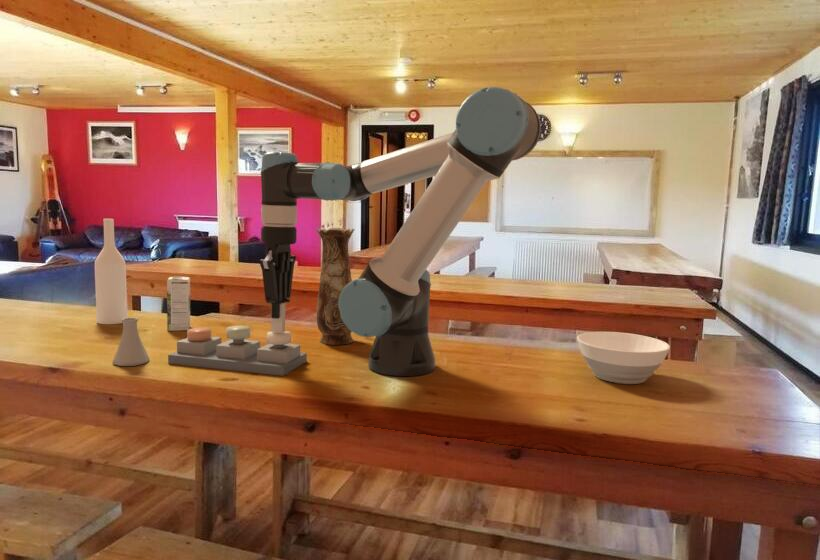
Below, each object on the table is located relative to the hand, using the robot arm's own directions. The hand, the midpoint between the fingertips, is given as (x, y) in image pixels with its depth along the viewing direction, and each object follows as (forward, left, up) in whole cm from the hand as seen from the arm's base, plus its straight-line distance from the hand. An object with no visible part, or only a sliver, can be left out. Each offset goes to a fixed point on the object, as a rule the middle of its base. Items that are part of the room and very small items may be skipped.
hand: (278, 331), depth 131 cm
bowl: (-74, -18, -8) cm, 77 cm away
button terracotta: (+20, 0, -5) cm, 20 cm away
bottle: (+66, -26, -8) cm, 71 cm away
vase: (-3, -27, -8) cm, 28 cm away
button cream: (0, 0, -5) cm, 5 cm away
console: (+10, 0, -8) cm, 13 cm away
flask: (+32, +8, -8) cm, 34 cm away
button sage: (+10, 0, -4) cm, 11 cm away
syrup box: (+43, -25, -8) cm, 50 cm away
